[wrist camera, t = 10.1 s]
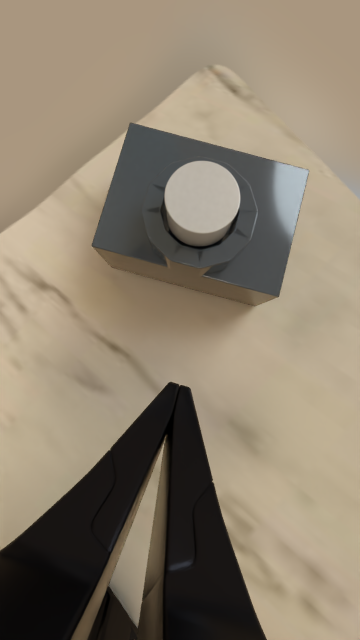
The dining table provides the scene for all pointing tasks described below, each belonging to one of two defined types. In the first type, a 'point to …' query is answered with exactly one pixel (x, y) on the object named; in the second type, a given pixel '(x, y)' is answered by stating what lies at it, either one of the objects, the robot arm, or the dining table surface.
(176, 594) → the robot arm
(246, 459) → the dining table surface
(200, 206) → the white push button
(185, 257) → the grey push button box
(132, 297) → the dining table surface
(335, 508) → the dining table surface
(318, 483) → the dining table surface
